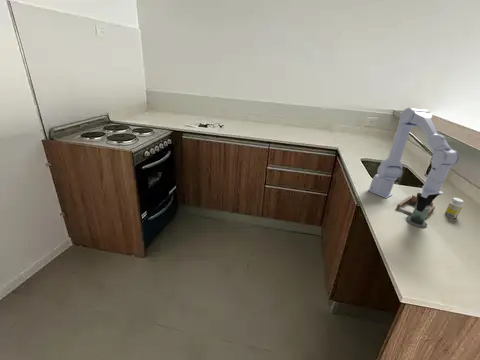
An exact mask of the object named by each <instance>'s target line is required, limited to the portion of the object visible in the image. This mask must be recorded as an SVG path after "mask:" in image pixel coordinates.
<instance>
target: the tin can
mask: <svg viewBox="0 0 480 360" xmlns="http://www.w3.org/2000/svg"><path fill="white" fill-rule="evenodd" d="M430 208H431V206H430V205H427V206H426V208H425V209H424V210H423V211H422V212H420V211H418V210H416V209H417V204H416V205H415V206H414V209H413V211H412V216H411V215H410V216H411V218H410V220H411V221H412V222H414V223H416V224H420V225H422V224H423V223H424V221H425V222H426V219H427V217H428V216H427V214H428V212H429V210H430ZM426 216H427V217H426Z"/></svg>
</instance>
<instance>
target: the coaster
mask: <svg viewBox="0 0 480 360" xmlns="http://www.w3.org/2000/svg"><path fill="white" fill-rule="evenodd" d="M405 217H406V218H405V221H406V222H407V223H408V224H409V225H411V226H414V227H417V228H421V229H426V228H427V227H428V223H427V221H426V220H425V221H424V223H423V224H422V225H420V224H416V223H414V222H412V221H411V220H410V218H411V215H408V216H405Z"/></svg>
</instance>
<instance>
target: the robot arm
mask: <svg viewBox="0 0 480 360" xmlns="http://www.w3.org/2000/svg"><path fill="white" fill-rule="evenodd" d="M432 118H433V115H432V112H431V111H430V110H429V109H420V108H414V107H413V108H412V107H407V108H405V109H403V110H402V111H401V114H400V117H399V120H398V123H397V124H398V125H397V127H396V131H395V134H394V137H393V140H392V144H391V148H390V150H389V154H388V157H387V158H386V159H383V160H382V161H381V162H380V164H379V166H378V167H377V173H376V174H375V175H374V176H373V178H372V180H371V182H370V185H369V187H368V190H367V191H368V192H370V193H373V194H375V195H377V196H379V197H382V198H384V199H388V198H390V197H391V196H393V193H391V192H392V189H393V187H394V184H395V181H397V180H398V179H399V178H401V176H402V175H403V167H404V164H403V163H402V162H401V159H402V156H403V153H404V150H405V146H406V143H407V140H408V139H409V135H410V132H411V129H413V128H415V127H417V126H419V127H420V128H421V129H422V131H423V132H424V134H425V135H426V136H427V141H426V143H427V145H428V148H429V149H430V151H431V152H432V157H431V158H432V159H431V160H432V161H431V164H430V165H431V168H430V171H429V172H428V175H427V177H426V179H425V182H424V184H423V185H422V187H421V189H422V190H421V192H417V193H416V196H417V209H416V210H418V211H420V212H422V211H423V210H424V209H425V208H426V206H427V205H430V204H431V203H432V202H433V201H434V200H435V199H436V198H437V197H438V196H440V195H443V193H444V192H443V191H442V190H441V189H442V187H443V184H444V182H445V181H446V179H447V176H448V174H449V172H450V170H451V167H452V166H454V165H457V163H458V162H459V160H460V155H459V152H458V151H457V150H455V149H452V148H451V146H450V145H449V144H448V141H447V140H446V136H444V135H442V134H439V133H438V131H437V129H436V127H435V124H434V123H433V121H432Z"/></svg>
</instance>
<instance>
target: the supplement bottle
mask: <svg viewBox="0 0 480 360" xmlns="http://www.w3.org/2000/svg"><path fill="white" fill-rule="evenodd" d="M463 204H464V200H463V199H461V198H459V197H453V198H452V200H451V201H450V202H449V204H448V206H447V208H446V210H445V212H444V215H446V216H447V217H449V218H452V219H456V218H457V217H458V216H459V214H460V212H461V210H462V208H463Z"/></svg>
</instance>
